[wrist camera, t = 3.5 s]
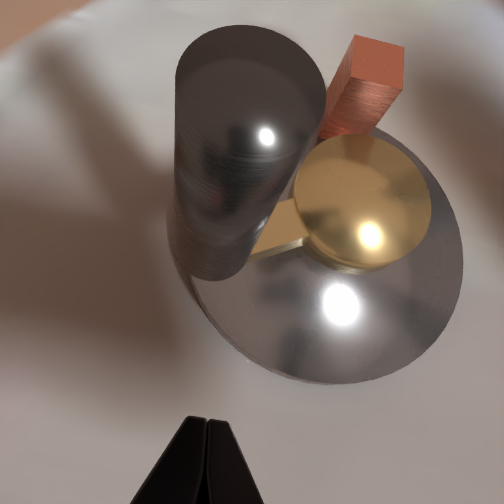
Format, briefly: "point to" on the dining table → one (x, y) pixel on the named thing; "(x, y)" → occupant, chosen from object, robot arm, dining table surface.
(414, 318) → the post base
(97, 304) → the dining table surface
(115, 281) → the dining table surface
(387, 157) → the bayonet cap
